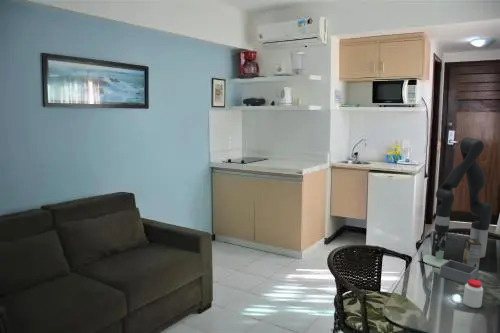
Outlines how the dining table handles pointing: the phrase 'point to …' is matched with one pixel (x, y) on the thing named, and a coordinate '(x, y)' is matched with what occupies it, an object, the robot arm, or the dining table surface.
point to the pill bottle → (473, 294)
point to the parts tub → (458, 271)
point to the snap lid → (435, 259)
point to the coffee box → (472, 252)
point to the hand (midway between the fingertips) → (439, 249)
